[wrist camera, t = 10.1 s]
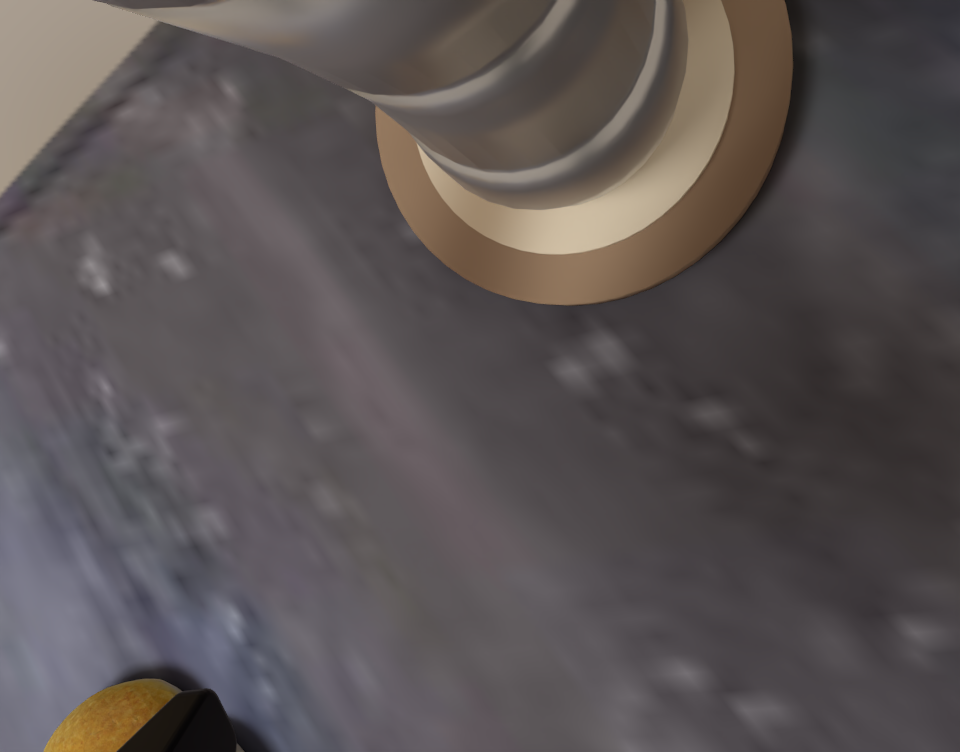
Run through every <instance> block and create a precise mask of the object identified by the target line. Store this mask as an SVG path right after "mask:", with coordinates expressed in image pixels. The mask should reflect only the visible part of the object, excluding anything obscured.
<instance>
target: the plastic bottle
mask: <svg viewBox="0 0 960 752" xmlns="http://www.w3.org/2000/svg"><path fill="white" fill-rule="evenodd" d="M94 1H99V2H103V3H107V4H109V5H111V6H113V7H116V8H119V9H122V10H126V11H129V12H132V13H135V14H139V15H142V16H145V17H149V18H152V19H155V20H158V21H161V22H165V23H168V24H171V25H174V26H178V27H181V28H184V29H187V30H191V31H194V32H197V33H200V34H204V35H207V36H210V37H213V38H217V39H220V40H223V41H226V42H230V43H233V44H236V45H239V46H243V47H246V48H249V49H252V50H256V51H259V52H262V53H265V54H269V55H272V56H275V57H278V58H281V59H283V60H285V61H288V62H290V63H292V64H294V65H296V66H298V67H300V68H302V69H304V70H307V71H309V72H311V73H313V74H315V75H317V76H319V77H321V78H323V79H326V80H328V81H330V82H332V83H334V84H336V85H338V86H340V87H343V88H346V89H348V90H350V91H352V92H354V93H356V94H358V95H360V96H362V97H364V98H366V99H368V100H369V101H371V102H372V103H373V104H374V105H376V106H377V107H378V108H379V109H381V110H382V111H383V112H385V113H386V114H387V115H388V116H390V117H391V118H392V119H393V120H395V121H396V122H397V123H398V124H400V125H401V126H402V127H403V128H405V129H406V130H407V131H408V132H409V133H410V135H411V136H412V137H413V139H414V140H415V141H416V142H417V144H418V145H419V146H420V147H421V149H422V150H423V151H424V153H425V154H426V155H427V156H428V157H429V158H430V159H431V160H432V161H433V162H434V163H435V164H436V165H437V166H439V167H440V168H441V169H442V170H443V171H444V172H445V173H446V174H447V175H448V176H450V177H451V178H452V179H453V180H454V181H456V182H457V183H458V184H459V185H460V186H462V187H463V188H464V189H465V190H467V191H469V192H471V193H473V194H475V195H477V196H479V197H480V198H482V199H484V200H486V201H488V202H491V203H495V204H499V205H502V206H506V207H509V208H513V209H529V210H547V209H556V208H562V207H569V206H575V205H580V204H583V203H585V202H588V201H591V200H593V199H596V198H599V197H601V196H603V195H605V194H607V193H608V192H610V191H611V190H613V189H615V188H616V187H618V186H620V185H621V184H623V183H624V182H626V181H627V180H628V179H629V178H630V177H631V176H632V175H633V174H634V173H635V172H636V171H637V170H639V169H640V168H641V167H642V166H643V165H644V164H645V163H646V161H647V160H648V159H649V157H650V156H651V155H652V153H653V152H654V151H655V149H656V148H657V147H658V145H659V144H660V143H661V141H662V139H663V137H664V135H665V133H666V131H667V129H668V127H669V125H670V123H671V120H672V118H673V116H674V113H675V109H676V105H677V102H678V98H679V95H680V91H681V88H682V84H683V81H684V77H685V73H686V64H687V53H688V42H689V39H688V30H687V20H686V11H685V6H684V3H683V0H94Z"/></svg>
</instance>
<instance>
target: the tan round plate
mask: <svg viewBox="0 0 960 752" xmlns="http://www.w3.org/2000/svg"><path fill="white" fill-rule="evenodd" d="M683 3H684V6H685V11H686V20H687V30H688V39H689V42H688V53H687V64H686V73H685V77H684V81H683V84H682V88H681V91H680V95H679V98H678V102H677V105H676V109H675V113H674V116H673V118H672V120H671V123H670V125H669V127H668V129H667V131H666V133H665V135H664V137H663V139H662V141H661V143H660V144H659V145H658V147H657V148H656V149H655V151H654V152H653V153H652V155H651V156H650V157H649V159H648V160H647V161H646V163H645V164H644V165H643V166H642V167H641V168H640V169H639V170H637V171H636V172H635V173H634V174H633V175H632V176H631V177H630V178H629V179H628V180H627V181H626V182H624V183H623V184H621V185H620V186H618V187H616V188H615V189H613V190H611V191H610V192H608V193H607V194H605V195H603V196H601V197H599V198H596V199H593V200H591V201H588V202H585V203H583V204H580V205H575V206H569V207H562V208H556V209H547V210H529V209H513V208H509V207H506V206H502V205H499V204H495V203H491V202H488V201H486V200H484V199H482V198H480V197H479V196H477V195H475V194H473V193H471V192H469V191H467V190H465V189H464V188H463V187H462V186H460V185H459V184H458V183H457V182H456V181H454V180H453V179H452V178H451V177H450V176H448V175H447V174H446V173H445V172H444V171H443V170H442V169H441V168H440V167H439V166H437V165H436V164H435V163H434V162H433V161H432V160H431V159H430V158H429V157H428V156H427V155H426V154H425V153H424V151H423V150H422V149H421V147H420V146H419V145H418V144H417V142H416V141H415V140H414V139H413V137H412V136H411V135H410V133H409V132H408V131H407V130H406V129H405V128H403V127H402V126H401V125H400V124H398V123H397V122H396V121H395V120H393V119H392V118H391V117H390V116H388V115H387V114H386V113H385V112H383V111H382V110H381V109H379V108H378V107H377V106H376V111H375V115H376V130H377V141H378V146H379V151H380V157H381V162H382V166H383V169H384V172H385V175H386V178H387V182H388V185H389V188H390V190H391V192H392V194H393V196H394V199H395V201H396V203H397V205H398V207H399V209H400V211H401V213H402V214H403V216H404V217H405V219H406V221H407V222H408V224H409V225H410V227H411V229H412V230H413V231H414V233H415V234H416V235H417V236H418V237H419V239H420V240H421V241H422V242H423V243H424V245H425V246H426V247H427V248H428V249H429V250H430V251H431V252H432V253H433V254H434V255H435V256H436V257H437V258H438V259H440V260H441V261H442V262H443V263H444V264H445V265H446V266H448V267H449V268H450V269H452V270H453V271H455V272H456V273H458V274H459V275H461V276H462V277H464V278H465V279H467V280H469V281H470V282H472V283H474V284H476V285H478V286H480V287H482V288H484V289H486V290H489V291H491V292H494V293H497V294H500V295H503V296H506V297H509V298H512V299H517V300H523V301H528V302H533V303H539V304H548V305H567V306H578V305H590V304H600V303H605V302H610V301H614V300H619V299H624V298H627V297H630V296H632V295H635V294H638V293H641V292H644V291H647V290H649V289H652V288H654V287H656V286H657V285H659V284H661V283H663V282H665V281H667V280H669V279H671V278H673V277H675V276H677V275H678V274H680V273H681V272H683V271H684V270H686V269H687V268H689V267H690V266H692V265H693V264H695V263H696V262H697V261H699V260H700V259H701V258H702V257H703V256H705V255H706V254H707V253H708V252H709V251H710V250H711V249H713V248H714V247H715V246H716V245H717V244H718V243H719V242H721V240H722V239H723V238H724V237H725V236H726V235H727V234H728V233H729V232H730V230H731V229H732V228H733V227H734V226H735V225H736V224H737V223H738V221H739V220H740V219H741V218H742V216H743V215H744V213H745V212H746V210H747V209H748V208H749V206H750V205H751V203H752V202H753V200H754V199H755V198H756V196H757V194H758V192H759V191H760V189H761V187H762V185H763V183H764V181H765V179H766V177H767V175H768V173H769V171H770V170H771V167H772V165H773V162H774V159H775V156H776V154H777V151H778V148H779V146H780V143H781V140H782V136H783V131H784V127H785V123H786V118H787V114H788V109H789V102H790V95H791V84H792V73H793V52H792V34H791V29H790V23H789V18H788V13H787V8H786V4H785V1H784V0H683Z"/></svg>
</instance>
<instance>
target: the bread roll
mask: <svg viewBox="0 0 960 752" xmlns="http://www.w3.org/2000/svg"><path fill="white" fill-rule="evenodd" d="M180 692H182V691H181V690H180V689H178V688H177V687H176V686H174V685H172V684H170V683H168V682H166V681H164V680H161V679H138V680H133V681H128V682H124V683H121V684H117V685H114V686H111V687H108V688H106V689H104V690H102V691H100V692H98V693H96V694H94V695H93V696H91V697H90V698H88V699H87V700H85V701H84V702H83V703H82V704H80V705H79V706H78V707H77V708H76V709H74V710H73V711H72V712H71V713H70V714H69V715H68V716H67V717H66V718H65V720H64V721H63V722H62V723H61V724H60V726H59V727H58V728H57V729H56V731H55V732H54V733H53V735H52V737H51V738H50V740H49V741H48V743H47V745H46V747H45V749H44V752H116V751H117V750H118V749H120V748H121V747H122V746H123V745H124V744H125V743H126V742H127V741H128V740H129V739H130V738H131V737H132V736H133V735H134V734H135V733H136V732H137V731H138V730H139V729H140V728H141V727H142V726H143V725H144V724H146V723H147V722H148V721H149V720H150V719H151V718H152V717H153V716H154V715H155V714H156V713H157V712H158V711H159V710H160V709H161V708H162V707H163V706H164V705H165V704H166V703H167V702H168V701H170V700H171V699H172V698H173V697H174V696H175V695H176V694H178V693H180ZM236 752H244V751H243V749H242V748H241V747H240V746H239V745H238V744H237V748H236Z"/></svg>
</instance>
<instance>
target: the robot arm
mask: <svg viewBox="0 0 960 752" xmlns="http://www.w3.org/2000/svg"><path fill="white" fill-rule="evenodd" d="M236 748H237V741H236V734H235V731H234V728H233V726H232V724H231V722H230V720H229V718H228V716H227V714H226V712H225V710H224V708H223V706H222V704H221V702H220V700H219V698H218V696H217V694H216V693H215V692H214V691H213V690H211V689H207V688H206V689H197V690H187V691H182V692H180V693H178V694H176V695H175V696H174V697H173V698H172V699H171V700H170V701H168V702H167V703H166V704H165V705H164V706H163V707H162V708H161V709H160V710H159V711H158V712H157V713H156V714H155V715H154V716H153V717H152V718H151V719H150V720H149V721H148V722H147V723H146V724H144V725H143V726H142V727H141V728H140V729H139V730H138V731H137V732H136V733H135V734H134V735H133V736H132V737H131V738H130V739H129V740H128V741H127V742H126V743H125V744H124V745H123V746H122V747H121V748H120V749H118V750H117V751H116V752H236Z"/></svg>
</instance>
